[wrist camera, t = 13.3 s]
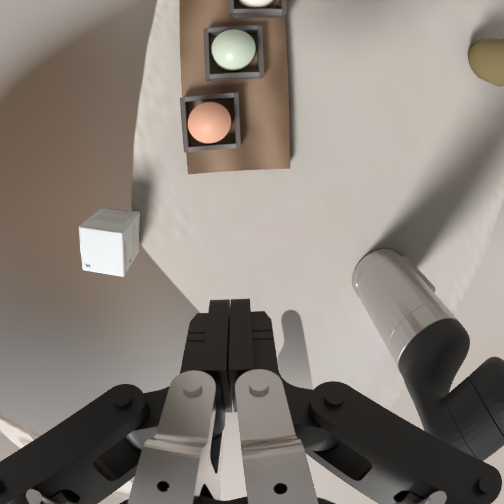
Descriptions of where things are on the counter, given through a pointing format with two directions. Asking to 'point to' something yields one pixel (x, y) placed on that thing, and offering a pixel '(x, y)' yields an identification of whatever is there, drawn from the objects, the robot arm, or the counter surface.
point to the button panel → (236, 86)
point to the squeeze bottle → (488, 60)
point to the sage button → (233, 50)
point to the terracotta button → (209, 122)
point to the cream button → (256, 3)
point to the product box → (109, 241)
